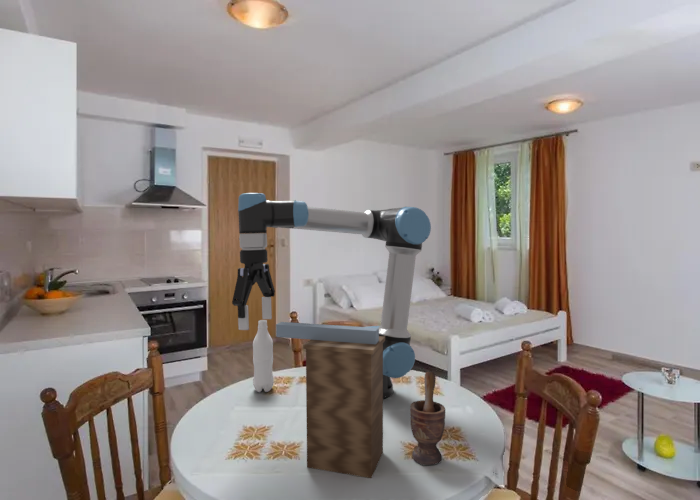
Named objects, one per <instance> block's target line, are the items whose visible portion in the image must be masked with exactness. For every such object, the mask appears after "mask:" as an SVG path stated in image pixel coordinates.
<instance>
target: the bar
mask: <svg viewBox="0 0 700 500" xmlns="http://www.w3.org/2000/svg"><path fill="white" fill-rule="evenodd" d="M275 336H276V338H285V339H301V340H324V341H337V342H350V343H364V344H377V342H378V341H379V328H370V327H368V326H355V325H354V326H351V325H340V324H339V325H337V324H335V325H333V324H320V323H307V322H306V323H303V322H291V321H290V322H289V321H288V322H287V321H280V322H278V323H276V324H275Z"/></svg>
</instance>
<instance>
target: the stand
mask: <svg viewBox="0 0 700 500" xmlns="http://www.w3.org/2000/svg"><path fill="white" fill-rule="evenodd" d="M384 341H385V336H379V341H378V342H377V344H364V343H350V342H337V341H324V340H311V339H308V340H307V342H305V343H303V344H302V349H303V350H305V375H306V376H305V381H306V383H305V385H306V386H305V387H306V388H305V391H306V392H305V393H306V397H305V399H306V401H305V402H306V406H305V407H306V408H305V409H306V410H305V411H306V412H305V413H306V468H307V469H308V468H309V469H315V470H320V471H326V472H332V473H333V472H334V473H337V474H344V475H349V476H357V477H361V478H367V479H372V478H373V476H374V474H375V471H376V470H377V467H378V465H379V462H380V460H381V458H382V456H383V453H384V398H383V342H384Z"/></svg>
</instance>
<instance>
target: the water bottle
mask: <svg viewBox="0 0 700 500" xmlns="http://www.w3.org/2000/svg"><path fill="white" fill-rule="evenodd" d="M257 324H258V325H257V332H256V334H255V337H254V339H253V342H252V357H253V358H252V363H253V379H252V384H253V388H254V390H255V392H257V393H262V391H264V392H265V393H267V392H270V391H271V390H272V388H273V386H274V383H275V381H274V380H275V379H274V375H273V362H274V348H273V347H274V346H273V345H274V342H273V341H274V340H273V338H272V336H271V335H270V332H269V330H268V328H269V327H268V319H260V320H258V322H257Z"/></svg>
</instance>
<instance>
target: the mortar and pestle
mask: <svg viewBox="0 0 700 500" xmlns="http://www.w3.org/2000/svg"><path fill="white" fill-rule="evenodd" d="M435 388H436V373H435V372H434V371H425V373H424V394H425V395H424V399H423V400H421V399H420V400H416V401H413V402H411V403H410V406H409V412H410V413H409V414H410V418H409V421H410V428H411V433H412V437H413V438H414V440H415V441H416V442H417V445H416V446H414V448H413V449H412V452H411V457H412V459H413V460H414V461H415V462H416V463H418V464H420V465H421V466H431V465H437V464H440V463H441V462H442V460H443V456H442V453H441V451H440V449H439V448H438V446H437V445H438V443H439V442H440V441H441V440H442V438H443V435H444V431H445V427H446V407H445V405H443V404H441V403H439V402H437V401H434V391H435Z"/></svg>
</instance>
